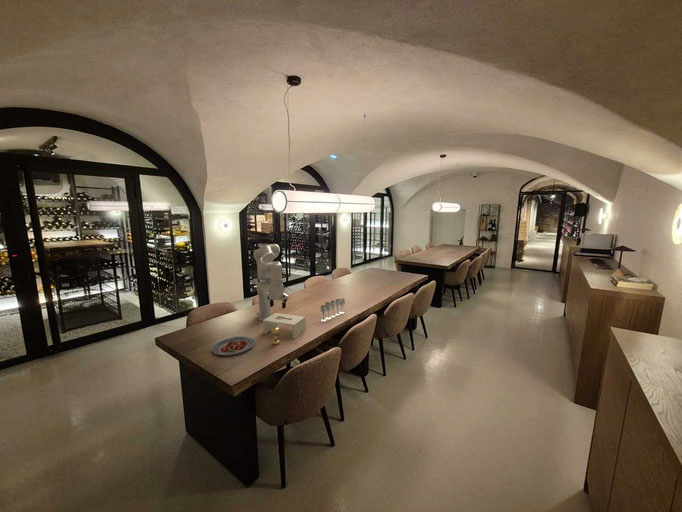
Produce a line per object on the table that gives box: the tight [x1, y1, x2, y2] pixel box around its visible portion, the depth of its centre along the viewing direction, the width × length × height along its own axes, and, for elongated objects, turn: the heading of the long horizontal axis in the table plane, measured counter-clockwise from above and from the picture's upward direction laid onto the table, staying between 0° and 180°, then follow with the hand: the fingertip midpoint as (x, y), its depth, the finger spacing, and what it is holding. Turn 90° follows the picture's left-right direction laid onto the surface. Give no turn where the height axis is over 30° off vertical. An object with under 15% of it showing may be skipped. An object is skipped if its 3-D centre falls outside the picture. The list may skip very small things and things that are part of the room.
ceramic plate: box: [211, 335, 255, 356], centre depth 186 cm, size 26×26×3 cm
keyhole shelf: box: [262, 312, 307, 339], centre depth 209 cm, size 26×16×10 cm, turn 69°
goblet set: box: [319, 298, 346, 322], centre depth 238 cm, size 28×6×13 cm, turn 139°
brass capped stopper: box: [270, 326, 280, 346], centre depth 190 cm, size 5×5×10 cm
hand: (278, 307), depth 189 cm, fingers open, 9 cm apart
